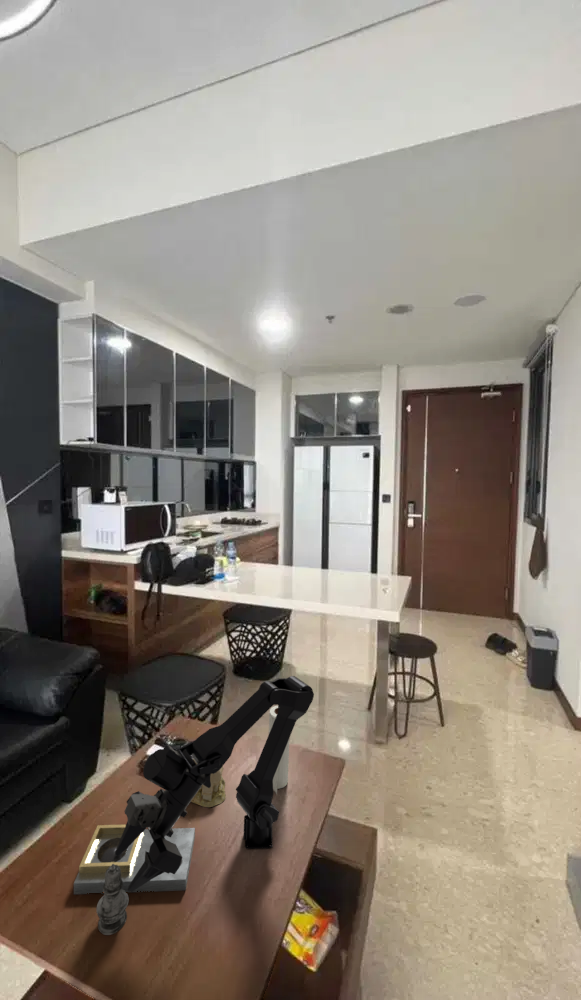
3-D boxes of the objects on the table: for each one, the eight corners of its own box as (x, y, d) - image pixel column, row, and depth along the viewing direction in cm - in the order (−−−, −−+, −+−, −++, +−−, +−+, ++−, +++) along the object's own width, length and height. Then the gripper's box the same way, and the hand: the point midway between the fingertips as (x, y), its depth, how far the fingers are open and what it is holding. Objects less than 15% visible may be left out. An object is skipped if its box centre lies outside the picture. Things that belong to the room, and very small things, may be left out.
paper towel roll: (275, 771, 128) (278, 702, 126) (292, 780, 124) (294, 709, 122) (260, 785, 122) (262, 713, 120) (276, 795, 118) (279, 721, 117)
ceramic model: (230, 779, 124) (231, 746, 123) (222, 809, 113) (223, 773, 112) (182, 775, 125) (183, 742, 124) (170, 805, 114) (170, 770, 113)
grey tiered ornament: (117, 940, 81) (117, 881, 80) (89, 932, 82) (89, 874, 81) (134, 909, 87) (135, 854, 86) (108, 902, 88) (108, 847, 87)
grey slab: (194, 837, 104) (195, 822, 104) (185, 890, 91) (186, 872, 91) (97, 840, 102) (97, 824, 102) (73, 894, 89) (73, 876, 89)
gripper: (137, 755, 94) (81, 825, 89) (167, 812, 79) (103, 900, 74) (171, 775, 100) (120, 842, 94) (205, 832, 85) (148, 916, 79)
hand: (122, 871), depth 85 cm, fingers open, 9 cm apart
